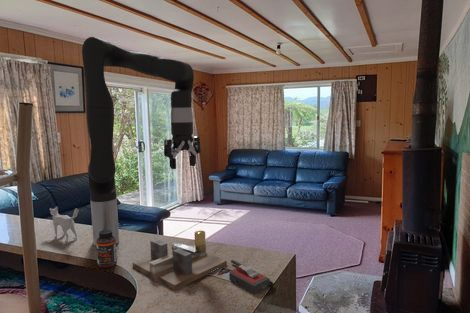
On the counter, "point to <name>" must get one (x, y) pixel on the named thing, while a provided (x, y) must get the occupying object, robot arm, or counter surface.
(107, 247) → the supplement bottle
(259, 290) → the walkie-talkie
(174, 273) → the lock base
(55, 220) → the cat figurine
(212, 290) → the counter surface
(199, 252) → the swing bar
